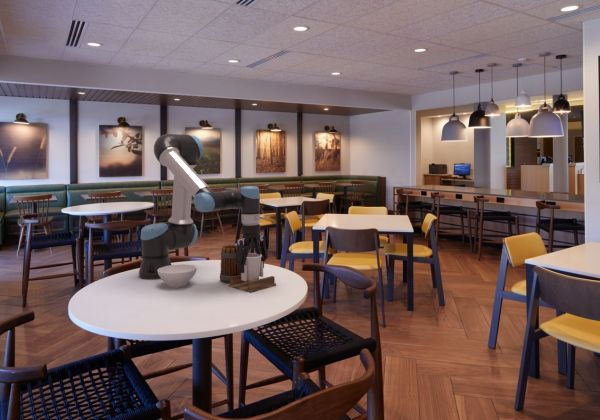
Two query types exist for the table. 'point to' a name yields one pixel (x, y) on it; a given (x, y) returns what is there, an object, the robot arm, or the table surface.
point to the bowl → (177, 274)
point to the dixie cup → (253, 266)
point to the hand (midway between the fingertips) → (252, 278)
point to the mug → (229, 263)
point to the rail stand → (252, 283)
